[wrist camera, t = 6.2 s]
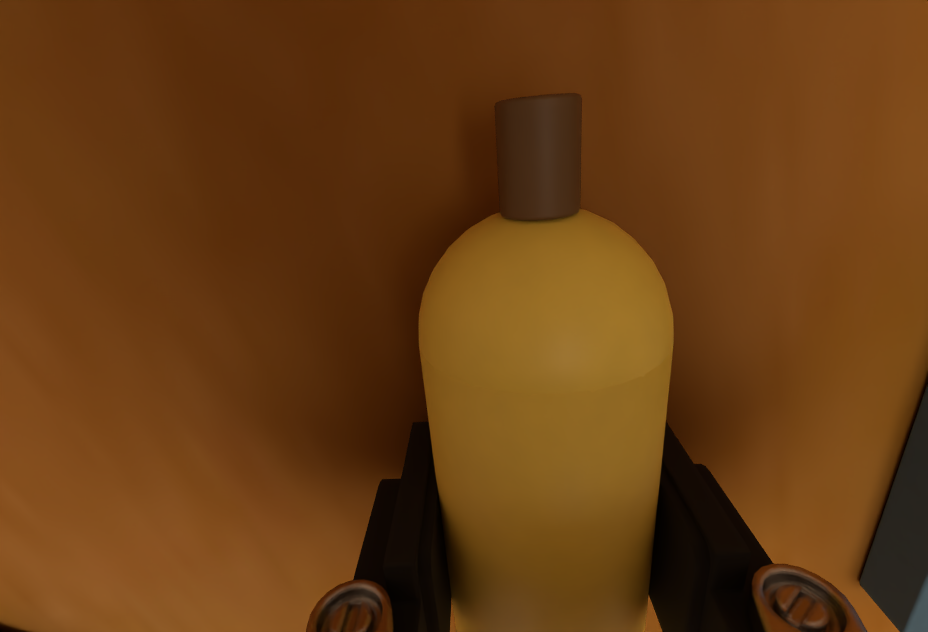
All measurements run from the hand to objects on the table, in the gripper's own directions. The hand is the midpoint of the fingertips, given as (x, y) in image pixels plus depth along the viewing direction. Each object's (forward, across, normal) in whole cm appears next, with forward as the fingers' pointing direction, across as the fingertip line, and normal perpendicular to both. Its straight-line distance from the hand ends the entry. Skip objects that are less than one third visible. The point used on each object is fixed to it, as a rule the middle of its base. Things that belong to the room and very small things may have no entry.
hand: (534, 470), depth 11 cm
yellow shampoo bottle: (+1, 0, 0) cm, 1 cm away
